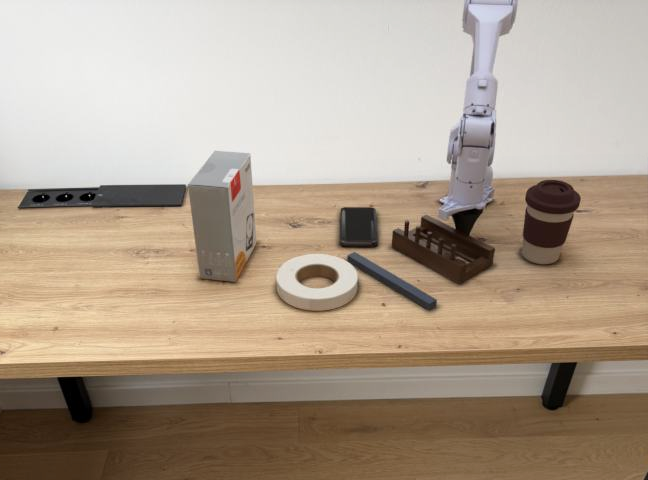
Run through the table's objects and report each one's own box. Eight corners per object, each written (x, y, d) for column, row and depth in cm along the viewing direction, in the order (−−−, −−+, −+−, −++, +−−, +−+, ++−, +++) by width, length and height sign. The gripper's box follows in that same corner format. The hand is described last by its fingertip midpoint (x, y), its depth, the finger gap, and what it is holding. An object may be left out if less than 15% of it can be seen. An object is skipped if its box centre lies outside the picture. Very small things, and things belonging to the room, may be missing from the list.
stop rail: (354, 258, 138) (354, 251, 137) (436, 306, 125) (437, 299, 124) (347, 261, 137) (347, 255, 136) (428, 310, 124) (429, 303, 123)
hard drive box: (236, 283, 131) (226, 188, 119) (198, 279, 132) (184, 184, 120) (258, 242, 143) (250, 151, 130) (223, 239, 144) (212, 149, 132)
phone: (339, 241, 140) (340, 206, 152) (339, 246, 141) (340, 211, 153) (378, 242, 140) (376, 207, 151) (377, 247, 141) (376, 211, 152)
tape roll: (363, 270, 134) (364, 257, 132) (349, 316, 123) (349, 303, 121) (287, 261, 137) (286, 249, 135) (266, 306, 125) (265, 293, 124)
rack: (424, 231, 146) (427, 201, 141) (492, 265, 135) (497, 234, 130) (391, 247, 141) (393, 217, 136) (458, 284, 130) (463, 252, 125)
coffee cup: (508, 261, 136) (521, 192, 126) (521, 238, 143) (535, 171, 133) (559, 273, 132) (576, 203, 123) (570, 249, 139) (587, 181, 129)
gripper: (461, 196, 125) (453, 259, 134) (510, 172, 132) (499, 234, 141) (432, 183, 129) (426, 245, 138) (482, 161, 137) (473, 221, 145)
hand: (461, 239), depth 140 cm, fingers closed
